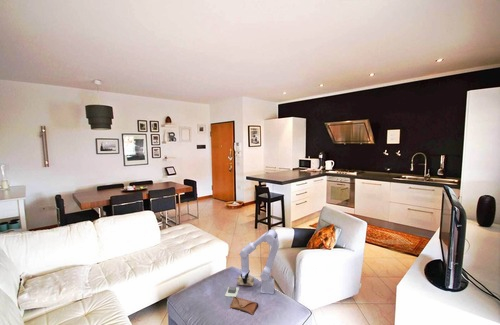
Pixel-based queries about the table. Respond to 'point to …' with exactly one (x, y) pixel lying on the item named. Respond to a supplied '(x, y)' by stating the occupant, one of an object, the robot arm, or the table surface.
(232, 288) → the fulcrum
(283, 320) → the table surface
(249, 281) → the beige piece
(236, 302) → the sunglasses case
